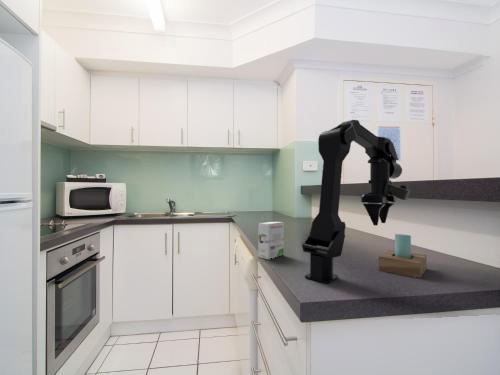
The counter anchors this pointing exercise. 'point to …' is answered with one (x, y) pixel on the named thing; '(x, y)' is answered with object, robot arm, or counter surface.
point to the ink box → (271, 240)
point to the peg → (403, 246)
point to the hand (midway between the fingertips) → (379, 224)
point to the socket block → (403, 264)
